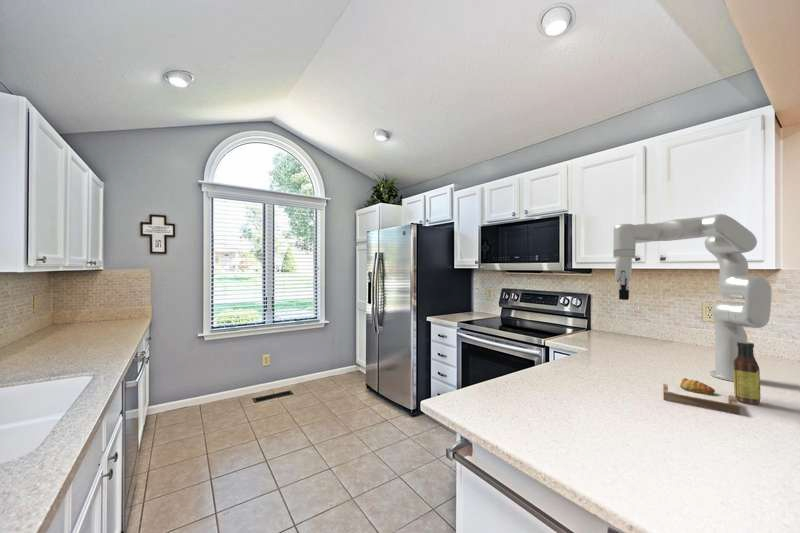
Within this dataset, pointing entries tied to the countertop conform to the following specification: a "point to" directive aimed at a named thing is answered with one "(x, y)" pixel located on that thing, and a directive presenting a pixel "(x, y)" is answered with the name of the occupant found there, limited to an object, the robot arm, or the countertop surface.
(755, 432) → the countertop surface
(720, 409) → the open wooden frame
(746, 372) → the sauce bottle
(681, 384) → the pastry
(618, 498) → the countertop surface
